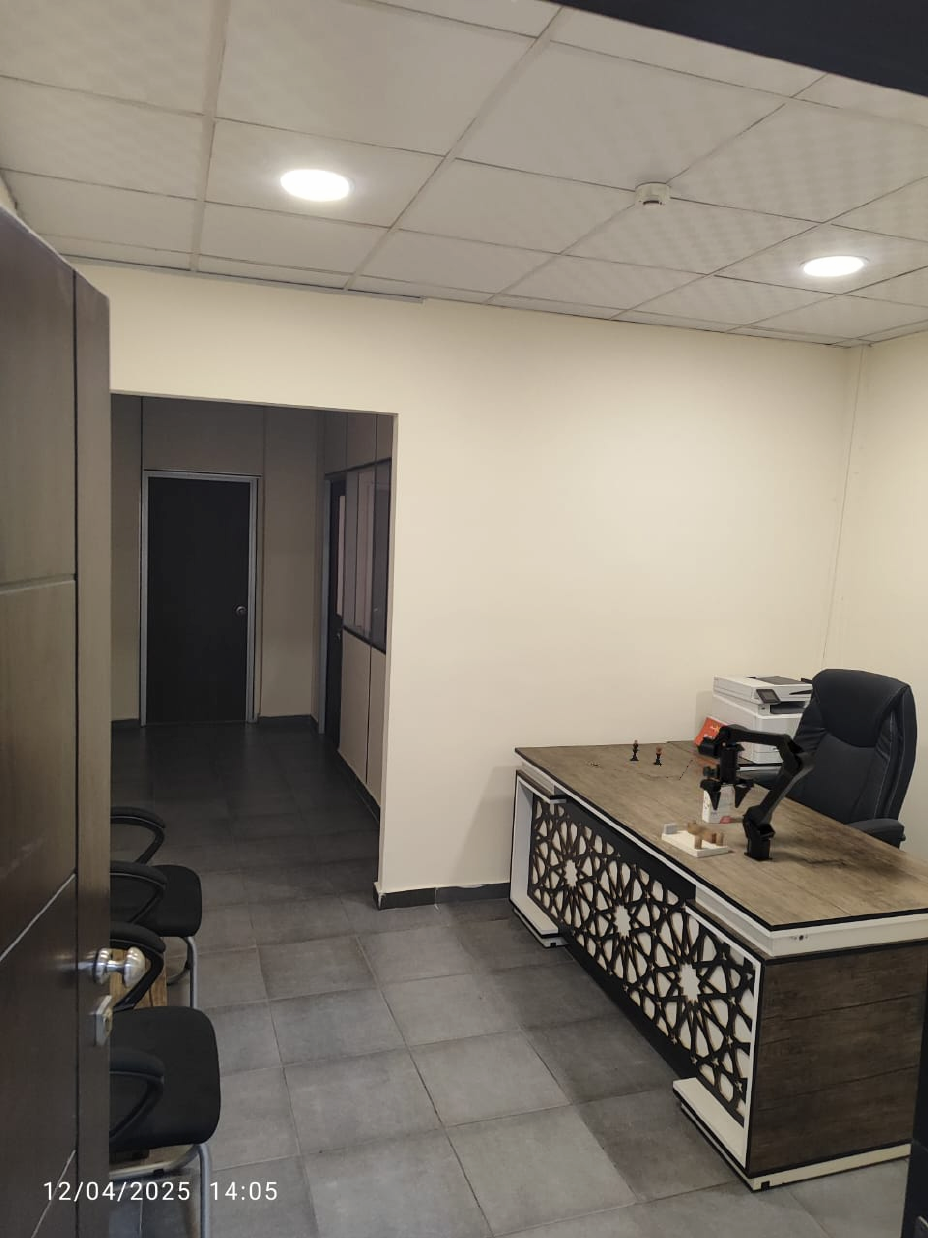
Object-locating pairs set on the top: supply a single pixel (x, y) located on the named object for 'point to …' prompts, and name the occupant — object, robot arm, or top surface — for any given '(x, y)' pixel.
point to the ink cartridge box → (723, 808)
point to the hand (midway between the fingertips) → (725, 809)
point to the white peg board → (693, 842)
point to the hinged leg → (701, 832)
